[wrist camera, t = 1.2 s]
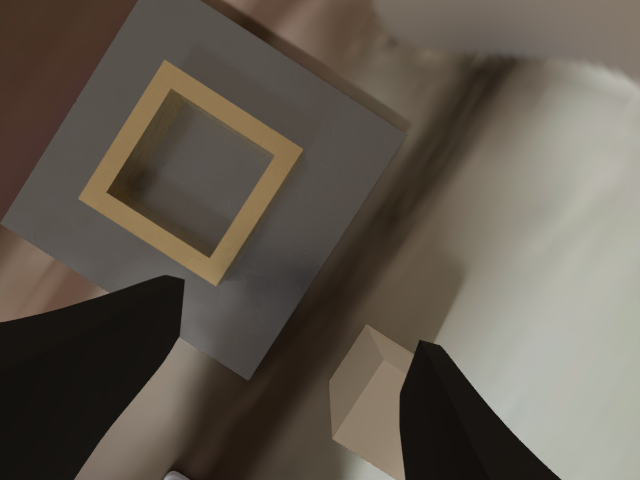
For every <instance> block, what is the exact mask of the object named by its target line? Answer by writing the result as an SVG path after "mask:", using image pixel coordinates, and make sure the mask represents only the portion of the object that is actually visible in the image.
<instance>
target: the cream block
mask: <svg viewBox="0 0 640 480" xmlns="http://www.w3.org/2000/svg"><path fill="white" fill-rule="evenodd" d="M413 356H414V354H412V353H411V352H409V351H408V350H406V349H405V348H403V347H401V346H400V345H398V344H397V343H395V342H394V341H392V340H390V339H389V338H387V337H386V336H384V335H383V334H381V333H380V332H378V331H376V330H375V329H373V328H372V327H370V326H369V325H367V324H366V325H365V327H364V329H363V330H362V332H361V333H360V335H359V336H358V338H357V339H356V341H355V342H354V344H353V345H352V347H351V348H350V350H349V352H348V353H347V355H346V356H345V358H344V359H343V361H342V362H341V364H340V365H339V367H338V368H337V370H336V372H335V373H334V375H333V376H332V378H331V379H330V381H329V394H330V411H331V429H332V439H333V440H335V441H336V442H338V443H339V444H341V445H343V446H344V447H346V448H347V449H349V450H350V451H352V452H354V453H355V454H357V455H358V456H360V457H361V458H363V459H365V460H366V461H368V462H369V463H371V464H372V465H374V466H376V467H377V468H379V469H380V470H382V471H384V472H385V473H387V474H388V475H390V476H391V477H393V478H395V479H396V480H405V473H404V465H403V456H402V447H401V439H400V429H399V399H400V391H401V389H402V386H403V383H404V381H405V378H406V375H407V373H408V370H409V367H410V365H411V362H412V359H413Z"/></svg>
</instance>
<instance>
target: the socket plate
mask: <svg viewBox="0 0 640 480" xmlns="http://www.w3.org/2000/svg"><path fill="white" fill-rule="evenodd" d="M406 136H407V134H405V133H404V132H402V131H401V130H399V129H398V128H396V127H395V126H393V125H392V124H390V123H389V122H387V121H385V120H384V119H382V118H381V117H379V116H378V115H376V114H375V113H373V112H372V111H370V110H369V109H367V108H365V107H364V106H362V105H361V104H359V103H358V102H356V101H355V100H353V99H352V98H350V97H349V96H347V95H345V94H344V93H342V92H341V91H339V90H338V89H336V88H335V87H333V86H332V85H330V84H329V83H327V82H325V81H324V80H322V79H321V78H319V77H318V76H316V75H315V74H313V73H312V72H310V71H309V70H307V69H305V68H304V67H302V66H301V65H299V64H298V63H296V62H295V61H293V60H292V59H290V58H289V57H287V56H286V55H284V54H282V53H281V52H279V51H278V50H276V49H275V48H273V47H272V46H270V45H269V44H267V43H266V42H264V41H262V40H261V39H259V38H258V37H256V36H255V35H253V34H252V33H250V32H249V31H247V30H246V29H244V28H242V27H241V26H239V25H238V24H236V23H235V22H233V21H232V20H230V19H229V18H227V17H226V16H224V15H222V14H221V13H219V12H218V11H216V10H215V9H213V8H212V7H210V6H209V5H207V4H206V3H204V2H203V1H201V0H138V2H137V3H136V5H135V6H134V8H133V10H132V11H131V13H130V14H129V16H128V18H127V19H126V21H125V23H124V24H123V26H122V27H121V29H120V31H119V32H118V34H117V36H116V37H115V39H114V40H113V42H112V44H111V45H110V47H109V48H108V50H107V52H106V53H105V55H104V57H103V58H102V60H101V61H100V63H99V65H98V66H97V68H96V69H95V71H94V73H93V74H92V76H91V78H90V79H89V81H88V82H87V84H86V86H85V87H84V89H83V91H82V92H81V94H80V95H79V97H78V99H77V100H76V102H75V103H74V105H73V107H72V108H71V110H70V112H69V113H68V115H67V116H66V118H65V120H64V121H63V123H62V124H61V126H60V128H59V129H58V131H57V133H56V134H55V136H54V137H53V139H52V141H51V142H50V144H49V146H48V147H47V149H46V150H45V152H44V154H43V155H42V157H41V158H40V160H39V162H38V163H37V165H36V167H35V168H34V170H33V171H32V173H31V175H30V176H29V178H28V179H27V181H26V183H25V184H24V186H23V188H22V189H21V191H20V192H19V194H18V196H17V197H16V199H15V201H14V202H13V204H12V205H11V207H10V209H9V210H8V212H7V213H6V215H5V217H4V218H3V220H2V222H1V223H0V224H1V225H3V226H5V227H6V228H8V229H9V230H11V231H12V232H14V233H16V234H17V235H19V236H20V237H22V238H24V239H25V240H27V241H28V242H30V243H31V244H33V245H35V246H36V247H38V248H39V249H41V250H42V251H44V252H46V253H47V254H49V255H50V256H52V257H54V258H55V259H57V260H58V261H60V262H61V263H63V264H65V265H66V266H68V267H69V268H71V269H72V270H74V271H76V272H77V273H79V274H80V275H82V276H84V277H85V278H87V279H88V280H90V281H91V282H93V283H95V284H96V285H98V286H99V287H101V288H103V289H104V290H106V291H107V292H109V293H112V292H115V291H118V290H121V289H124V288H126V287H129V286H132V285H135V284H138V283H141V282H143V281H146V280H149V279H152V278H155V277H159V276H162V275H170V276H174V277H177V278H181V279H185V286H184V297H183V308H182V319H181V330H180V336H179V337H180V338H182V339H183V340H185V341H186V342H188V343H189V344H191V345H193V346H194V347H196V348H197V349H199V350H200V351H202V352H204V353H205V354H207V355H208V356H210V357H212V358H213V359H215V360H216V361H218V362H219V363H221V364H223V365H224V366H226V367H227V368H229V369H231V370H232V371H234V372H235V373H237V374H238V375H240V376H242V377H243V378H245V379H246V380H248V381H249V379H250V378H251V376H252V375H253V373H254V372H255V370H256V369H257V367H258V365H259V364H260V362H261V361H262V359H263V358H264V356H265V355H266V353H267V352H268V350H269V348H270V347H271V345H272V344H273V342H274V341H275V339H276V338H277V336H278V334H279V333H280V331H281V330H282V328H283V327H284V325H285V324H286V322H287V320H288V319H289V317H290V316H291V314H292V313H293V311H294V310H295V308H296V306H297V305H298V303H299V302H300V300H301V299H302V297H303V296H304V294H305V293H306V291H307V289H308V288H309V286H310V285H311V283H312V282H313V280H314V279H315V277H316V275H317V274H318V272H319V271H320V269H321V268H322V266H323V265H324V263H325V261H326V260H327V258H328V257H329V255H330V254H331V252H332V251H333V249H334V248H335V246H336V244H337V243H338V241H339V240H340V238H341V237H342V235H343V234H344V232H345V230H346V229H347V227H348V226H349V224H350V223H351V221H352V220H353V218H354V216H355V215H356V213H357V212H358V210H359V209H360V207H361V206H362V204H363V203H364V201H365V199H366V198H367V196H368V195H369V193H370V192H371V190H372V189H373V187H374V185H375V184H376V182H377V181H378V179H379V178H380V176H381V175H382V173H383V171H384V170H385V168H386V167H387V165H388V164H389V162H390V161H391V159H392V158H393V156H394V154H395V153H396V151H397V150H398V148H399V147H400V145H401V144H402V142H403V140H404V139H405V137H406Z"/></svg>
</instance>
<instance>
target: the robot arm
mask: <svg viewBox="0 0 640 480" xmlns="http://www.w3.org/2000/svg"><path fill="white" fill-rule="evenodd" d="M184 286H185V279H181V278H177V277H174V276H170V275H162V276H159V277H155V278H152V279H149V280H146V281H143V282H141V283H138V284H135V285H132V286H129V287H126V288H124V289H121V290H118V291H115V292H112V293H109V294H106V295H103V296H100V297H97V298H94V299H91V300H87V301H84V302H81V303H78V304H75V305H71V306H68V307H65V308H61V309H58V310H54V311H50V312H46V313H42V314H38V315H34V316H29V317H25V318H21V319H16V320H11V321H6V322H0V480H74V479H75V477H76V476H77V474H78V473H79V471H80V470H81V468H82V467H83V465H84V464H85V462H86V461H87V459H88V458H89V456H90V455H91V453H92V452H93V451H94V449H95V448H96V446H97V445H98V443H99V442H100V440H101V439H102V438H103V436H104V435H105V434H106V432H107V431H108V430H109V428H110V427H111V426H112V424H113V423H114V422H115V421H116V420H117V418H118V417H119V416H120V415H121V414H122V412H123V411H124V410H125V409H126V407H127V406H128V405H129V404H130V403H131V401H132V400H133V399H134V398H135V397H136V395H137V394H138V393H139V392H140V391H141V389H142V388H143V387H144V386H145V384H146V383H147V382H148V381H149V380H150V378H151V377H152V376H153V375H154V373H155V372H156V371H157V370H158V368H159V367H160V366H161V365H162V363H163V362H164V360H165V359H166V357H167V356H168V354H169V353H170V351H171V349H172V348H173V346H174V344H175V343H176V341H177V339H178V338H179V336H180V330H181V319H182V308H183V297H184ZM399 429H400V439H401V447H402V456H403V465H404V473H405V480H561V479H560V478H559V477H558V476H557V475H555V474H554V473H553V472H552V471H551V470H550V469H549V468H548V467H547V466H546V465H545V464H543V463H542V462H541V461H540V460H539V459H538V458H537V457H536V456H535V455H534V454H533V453H532V452H531V451H530V450H529V449H528V448H527V447H526V446H525V445H524V444H523V443H522V442H521V441H520V440H519V439H518V438H517V437H516V436H515V435H514V434H513V433H512V431H511V430H510V429H509V428H508V427H507V426H506V425H505V424H504V423H503V421H502V420H501V419H500V418H499V417H498V416H497V415H496V414H495V413H494V411H493V410H492V409H491V408H490V407H489V406H488V404H487V403H486V402H485V401H484V400H483V398H482V397H481V396H480V395H479V394H478V392H477V391H476V390H475V389H474V387H473V386H472V385H471V384H470V382H469V381H468V380H467V378H466V377H465V376H464V375H463V373H462V372H461V371H460V369H459V368H458V367H457V366H456V364H455V363H454V362H453V360H452V359H451V358H450V356H449V355H448V354H447V353H446V351H445V350H444V349H443V348H442V347H441V346H440V345H437V344H433V343H429V342H425V341H422V340H419V343H418V346H417V348H416V351H415V354H414V356H413V359H412V362H411V365H410V367H409V370H408V373H407V375H406V378H405V381H404V383H403V386H402V389H401V391H400V399H399ZM163 480H190V479H188V478H187V477H185V476H183V475H182V474H180V473H179V472H176V471H171V472H169V473H168V474H167V475H166V476H165V478H164V479H163Z"/></svg>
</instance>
